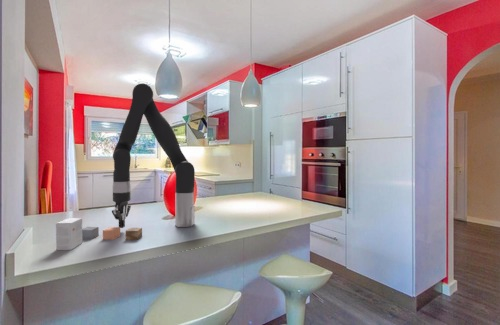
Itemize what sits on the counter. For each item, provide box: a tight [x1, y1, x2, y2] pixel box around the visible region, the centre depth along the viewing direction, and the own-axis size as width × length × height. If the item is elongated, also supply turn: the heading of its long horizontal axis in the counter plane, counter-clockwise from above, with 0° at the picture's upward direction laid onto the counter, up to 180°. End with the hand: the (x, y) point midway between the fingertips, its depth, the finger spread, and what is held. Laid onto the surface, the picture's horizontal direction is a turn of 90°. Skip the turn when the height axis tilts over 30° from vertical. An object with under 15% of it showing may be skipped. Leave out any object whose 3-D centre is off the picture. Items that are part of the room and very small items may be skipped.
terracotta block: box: [102, 226, 121, 240], centre depth 115 cm, size 5×5×4 cm
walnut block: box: [125, 227, 143, 241], centre depth 114 cm, size 5×5×4 cm
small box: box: [55, 217, 83, 251], centre depth 103 cm, size 8×6×10 cm
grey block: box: [82, 226, 100, 240], centre depth 115 cm, size 5×5×4 cm
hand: (121, 227), depth 123 cm, fingers closed
